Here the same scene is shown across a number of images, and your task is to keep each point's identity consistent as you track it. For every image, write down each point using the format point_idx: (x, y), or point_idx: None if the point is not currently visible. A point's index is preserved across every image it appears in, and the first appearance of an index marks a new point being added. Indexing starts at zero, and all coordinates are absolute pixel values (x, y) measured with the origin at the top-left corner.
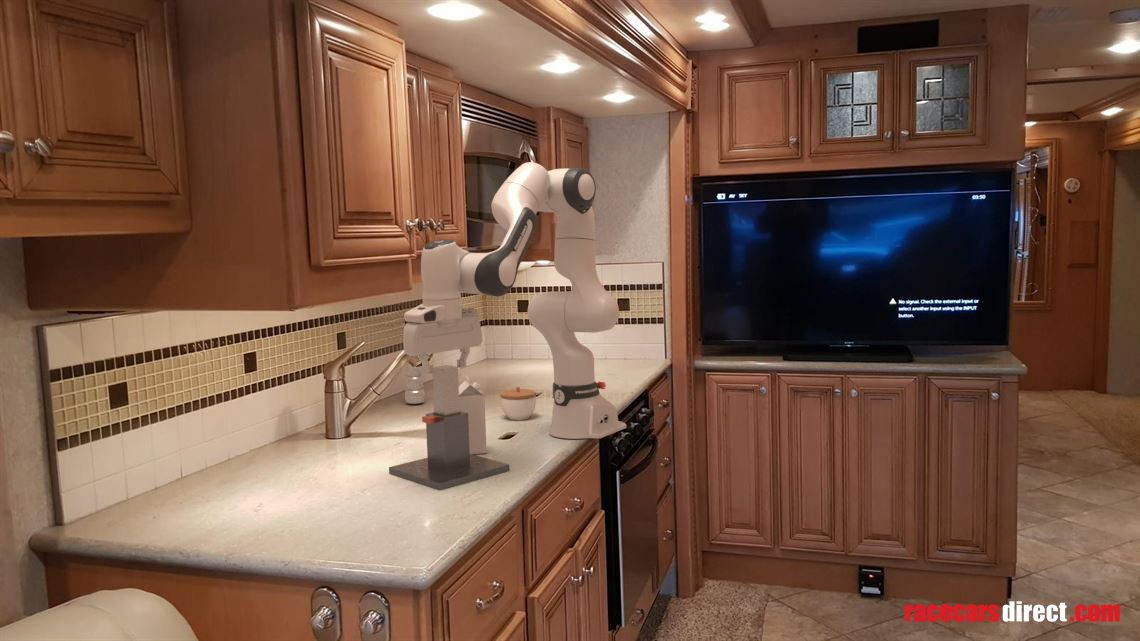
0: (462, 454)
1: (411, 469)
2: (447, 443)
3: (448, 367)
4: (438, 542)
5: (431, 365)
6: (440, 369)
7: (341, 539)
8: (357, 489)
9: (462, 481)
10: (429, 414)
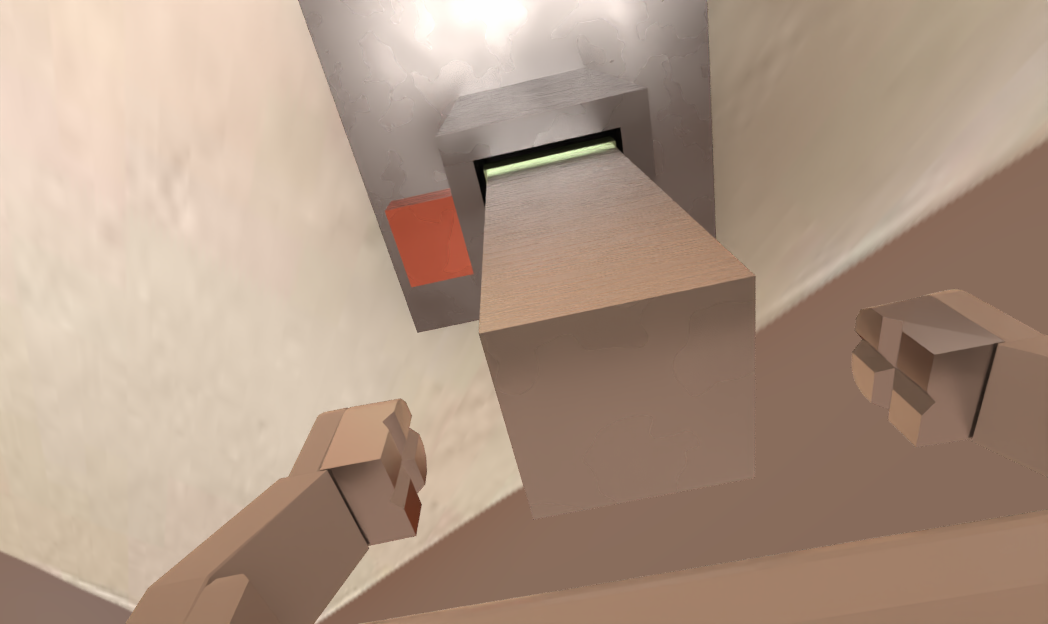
0: None
1: (380, 101)
2: None
3: (642, 464)
4: None
5: (397, 519)
6: (522, 474)
7: (102, 508)
8: (146, 145)
9: None
10: (451, 173)
